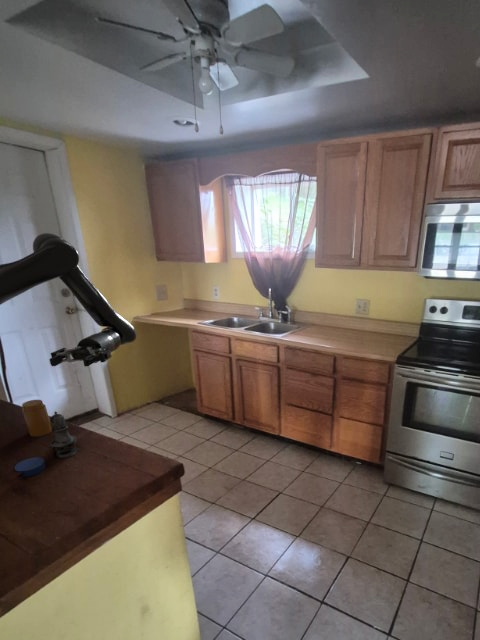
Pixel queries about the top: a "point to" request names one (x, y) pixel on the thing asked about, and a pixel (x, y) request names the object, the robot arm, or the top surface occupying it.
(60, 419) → the grey metal fitting
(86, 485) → the top surface
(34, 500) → the top surface
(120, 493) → the top surface
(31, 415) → the jar
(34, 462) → the lid
